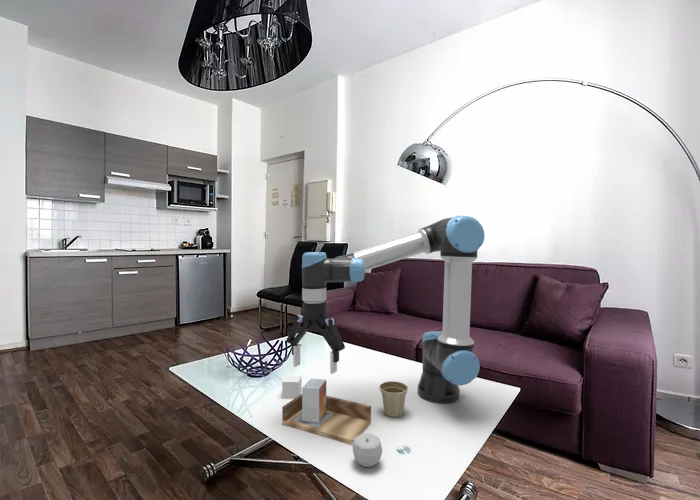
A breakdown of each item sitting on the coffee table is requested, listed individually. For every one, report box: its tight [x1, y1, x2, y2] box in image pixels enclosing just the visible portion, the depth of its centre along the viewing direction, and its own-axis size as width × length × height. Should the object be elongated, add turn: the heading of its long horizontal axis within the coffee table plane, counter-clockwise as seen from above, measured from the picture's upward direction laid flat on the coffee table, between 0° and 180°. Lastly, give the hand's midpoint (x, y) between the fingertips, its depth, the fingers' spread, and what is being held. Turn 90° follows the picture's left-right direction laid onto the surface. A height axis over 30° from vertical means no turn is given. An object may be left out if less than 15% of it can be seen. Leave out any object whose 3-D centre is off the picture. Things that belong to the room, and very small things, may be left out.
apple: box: [352, 433, 383, 468], centre depth 88 cm, size 8×8×7 cm
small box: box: [301, 377, 327, 423], centre depth 109 cm, size 8×6×10 cm
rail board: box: [281, 393, 372, 446], centre depth 107 cm, size 24×13×5 cm, turn 63°
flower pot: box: [378, 380, 409, 418], centre depth 114 cm, size 9×9×9 cm
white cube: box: [281, 375, 303, 399], centre depth 128 cm, size 6×6×6 cm
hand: (314, 368), depth 109 cm, fingers open, 13 cm apart
